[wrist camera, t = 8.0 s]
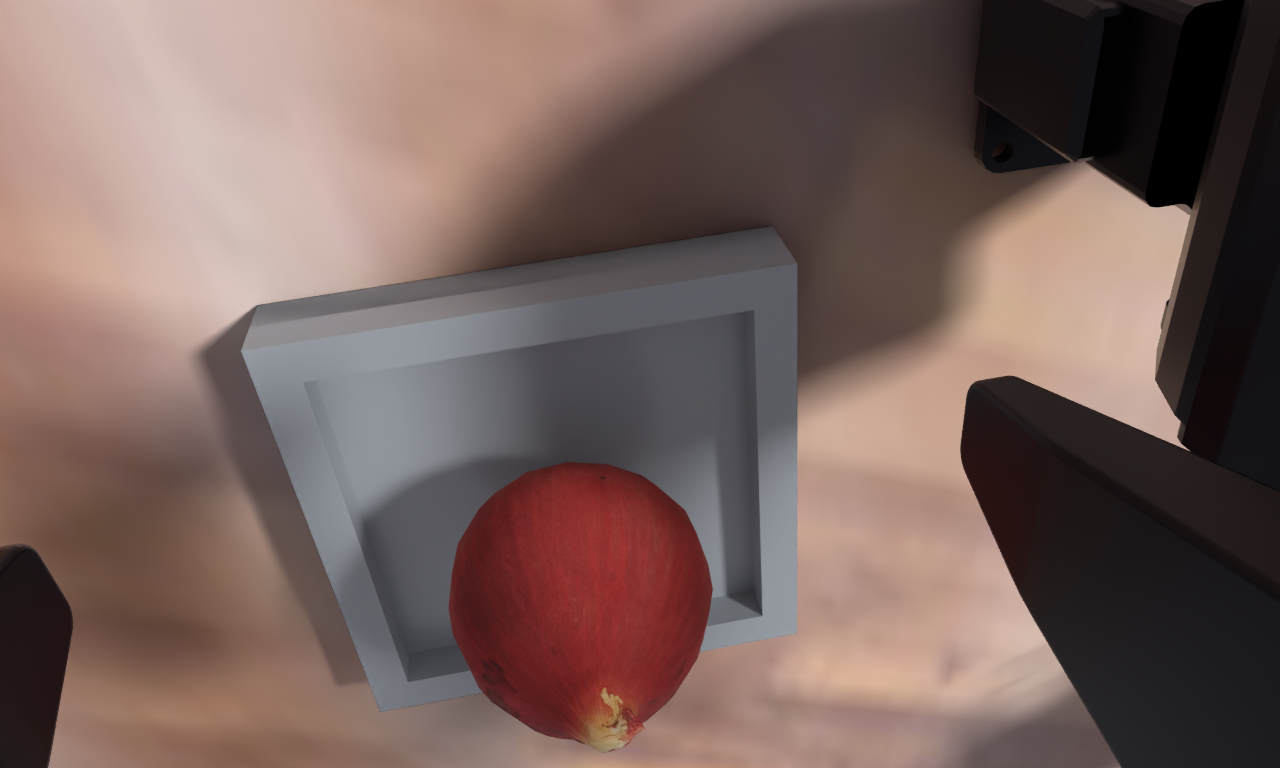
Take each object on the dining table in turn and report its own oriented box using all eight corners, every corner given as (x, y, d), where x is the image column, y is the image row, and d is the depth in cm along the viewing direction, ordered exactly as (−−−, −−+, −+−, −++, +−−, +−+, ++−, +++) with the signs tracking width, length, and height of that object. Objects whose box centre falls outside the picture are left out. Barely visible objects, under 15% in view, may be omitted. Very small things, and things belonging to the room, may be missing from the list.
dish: (772, 226, 23) (797, 263, 21) (777, 583, 29) (796, 633, 28) (257, 305, 22) (240, 351, 20) (384, 656, 28) (380, 711, 27)
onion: (610, 595, 27) (661, 864, 20) (414, 541, 25) (400, 822, 18) (714, 438, 25) (811, 684, 18) (508, 363, 22) (532, 611, 16)
